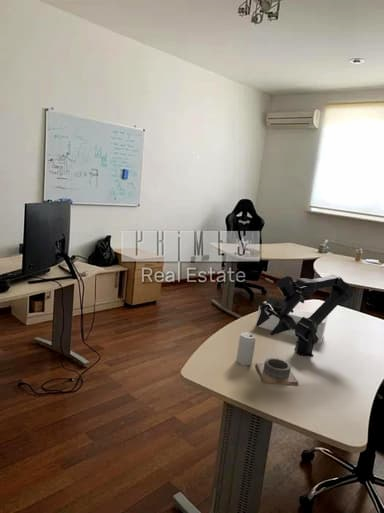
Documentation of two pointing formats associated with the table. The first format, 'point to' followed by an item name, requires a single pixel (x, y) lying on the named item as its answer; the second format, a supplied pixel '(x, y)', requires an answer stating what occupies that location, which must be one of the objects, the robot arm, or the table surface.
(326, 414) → the table surface
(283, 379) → the can holder
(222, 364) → the table surface
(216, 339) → the table surface
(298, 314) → the white foam block
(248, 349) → the beverage can
